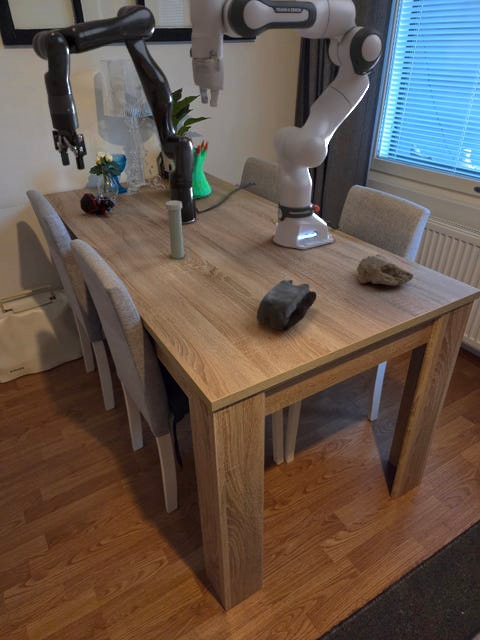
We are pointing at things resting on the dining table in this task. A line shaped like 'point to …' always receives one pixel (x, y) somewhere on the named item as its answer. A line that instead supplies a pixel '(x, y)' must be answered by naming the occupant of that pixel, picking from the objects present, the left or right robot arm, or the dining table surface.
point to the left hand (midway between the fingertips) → (73, 167)
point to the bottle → (176, 233)
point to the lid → (173, 205)
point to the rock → (285, 304)
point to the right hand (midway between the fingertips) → (209, 105)
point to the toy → (97, 204)
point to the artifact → (381, 271)
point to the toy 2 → (199, 172)
